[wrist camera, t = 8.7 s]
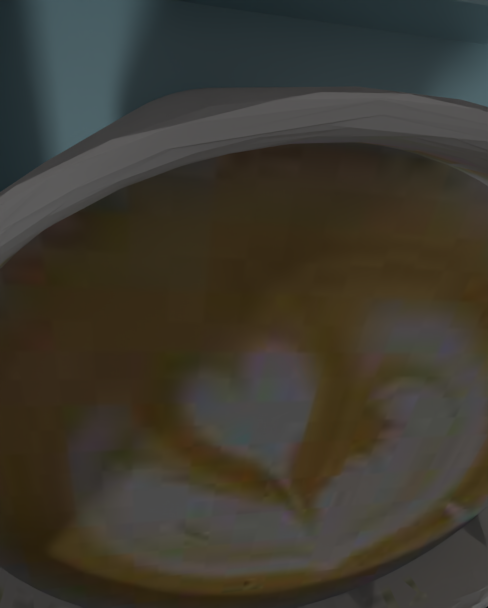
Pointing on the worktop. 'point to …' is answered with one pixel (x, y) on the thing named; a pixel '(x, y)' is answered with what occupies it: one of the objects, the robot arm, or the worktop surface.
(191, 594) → the coffee mug
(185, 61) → the tote
